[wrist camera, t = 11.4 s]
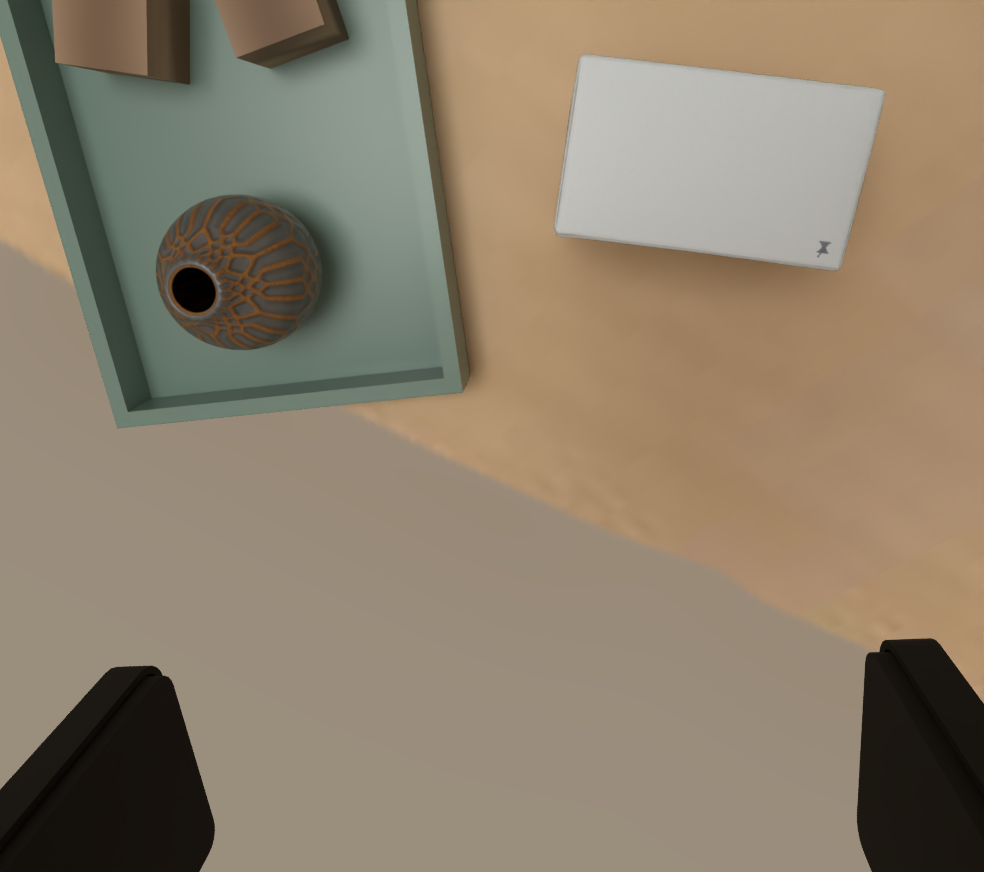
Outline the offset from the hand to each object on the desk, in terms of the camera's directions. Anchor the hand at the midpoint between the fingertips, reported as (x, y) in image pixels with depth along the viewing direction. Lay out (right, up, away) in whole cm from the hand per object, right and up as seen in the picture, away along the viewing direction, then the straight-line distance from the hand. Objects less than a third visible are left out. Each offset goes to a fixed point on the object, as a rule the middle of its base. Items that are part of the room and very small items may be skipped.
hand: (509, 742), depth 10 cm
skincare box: (+8, +17, +27) cm, 33 cm away
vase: (-11, +13, +29) cm, 33 cm away
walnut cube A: (-9, +23, +25) cm, 35 cm away
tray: (-12, +17, +28) cm, 35 cm away
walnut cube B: (-16, +23, +26) cm, 38 cm away
